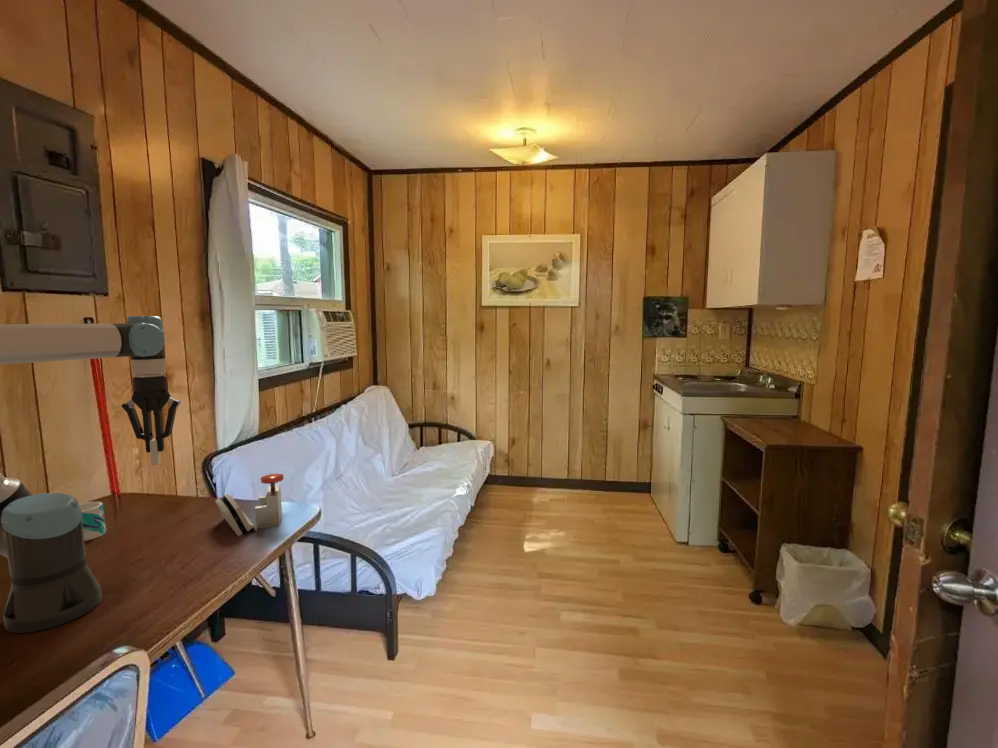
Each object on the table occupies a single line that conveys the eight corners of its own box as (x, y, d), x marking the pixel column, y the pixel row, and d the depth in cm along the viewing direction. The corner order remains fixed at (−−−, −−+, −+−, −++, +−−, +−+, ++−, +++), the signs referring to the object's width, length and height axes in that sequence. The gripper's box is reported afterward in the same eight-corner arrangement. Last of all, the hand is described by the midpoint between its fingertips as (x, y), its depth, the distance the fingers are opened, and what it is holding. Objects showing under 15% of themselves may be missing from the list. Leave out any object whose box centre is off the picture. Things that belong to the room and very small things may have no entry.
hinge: (257, 531, 142) (242, 501, 139) (240, 541, 139) (224, 511, 136) (242, 513, 155) (227, 486, 151) (226, 522, 152) (211, 495, 149)
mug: (66, 544, 136) (63, 514, 135) (70, 529, 145) (66, 501, 144) (105, 536, 141) (102, 507, 140) (106, 522, 150) (103, 495, 149)
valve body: (285, 524, 146) (282, 480, 144) (256, 529, 143) (252, 484, 142) (287, 512, 155) (284, 470, 154) (260, 515, 153) (257, 473, 151)
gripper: (182, 373, 139) (188, 458, 141) (125, 375, 135) (132, 462, 137) (174, 375, 132) (180, 465, 134) (114, 377, 128) (122, 470, 130)
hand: (156, 463), depth 136 cm, fingers closed
